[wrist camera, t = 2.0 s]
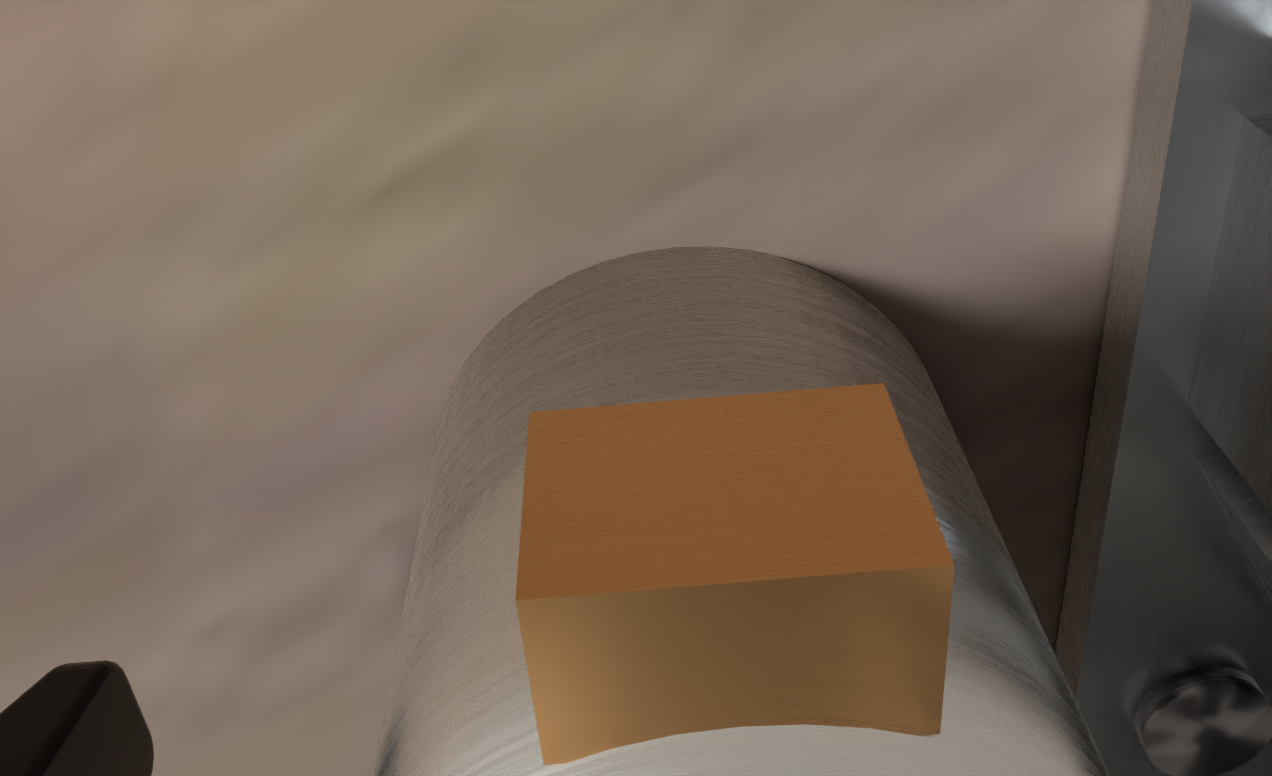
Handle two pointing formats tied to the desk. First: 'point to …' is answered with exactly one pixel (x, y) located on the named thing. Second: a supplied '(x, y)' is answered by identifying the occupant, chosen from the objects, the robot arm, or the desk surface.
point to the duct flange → (1184, 420)
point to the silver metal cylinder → (713, 549)
